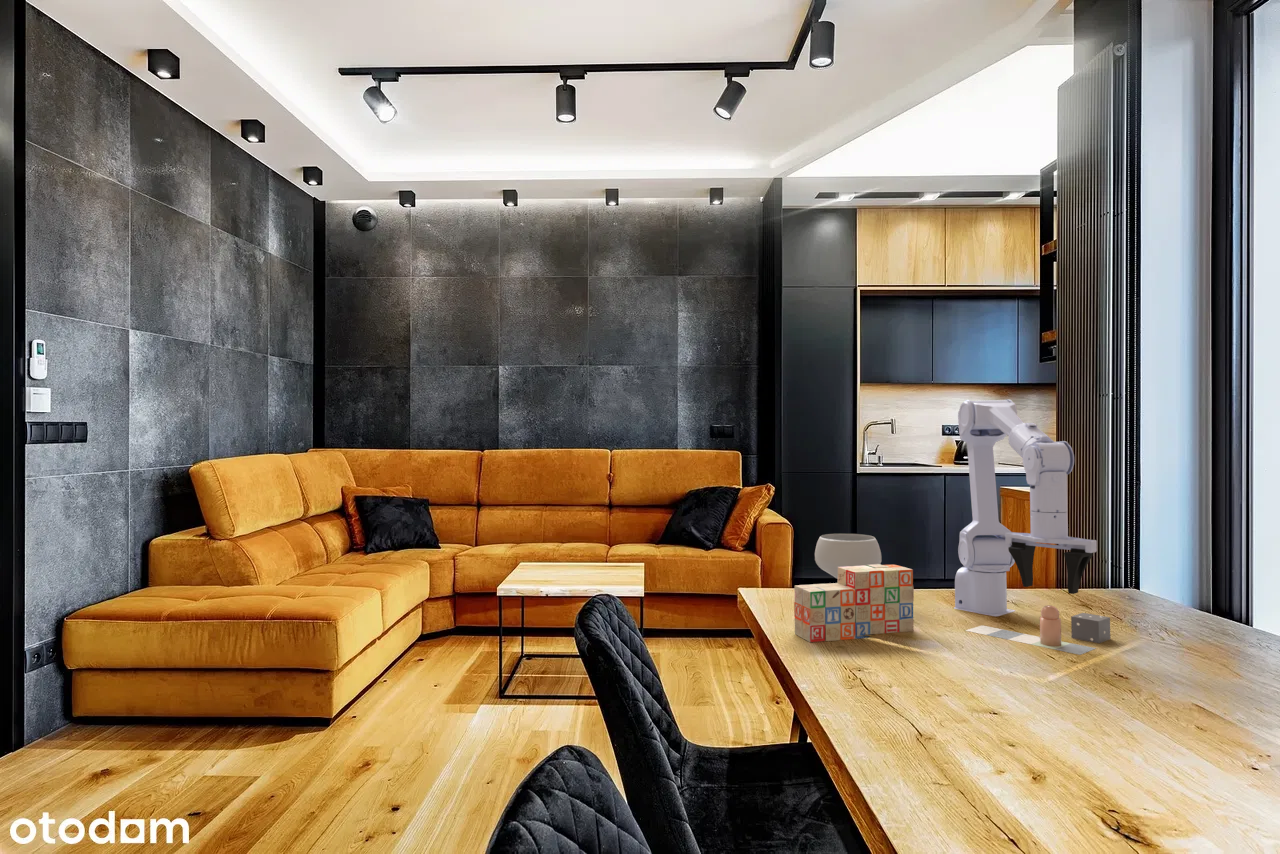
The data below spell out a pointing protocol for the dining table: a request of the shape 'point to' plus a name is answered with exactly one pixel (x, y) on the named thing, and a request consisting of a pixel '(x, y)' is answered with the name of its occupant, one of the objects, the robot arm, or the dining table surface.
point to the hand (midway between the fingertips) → (1050, 589)
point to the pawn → (1050, 626)
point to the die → (1090, 627)
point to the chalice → (846, 551)
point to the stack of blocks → (856, 604)
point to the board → (1029, 639)
